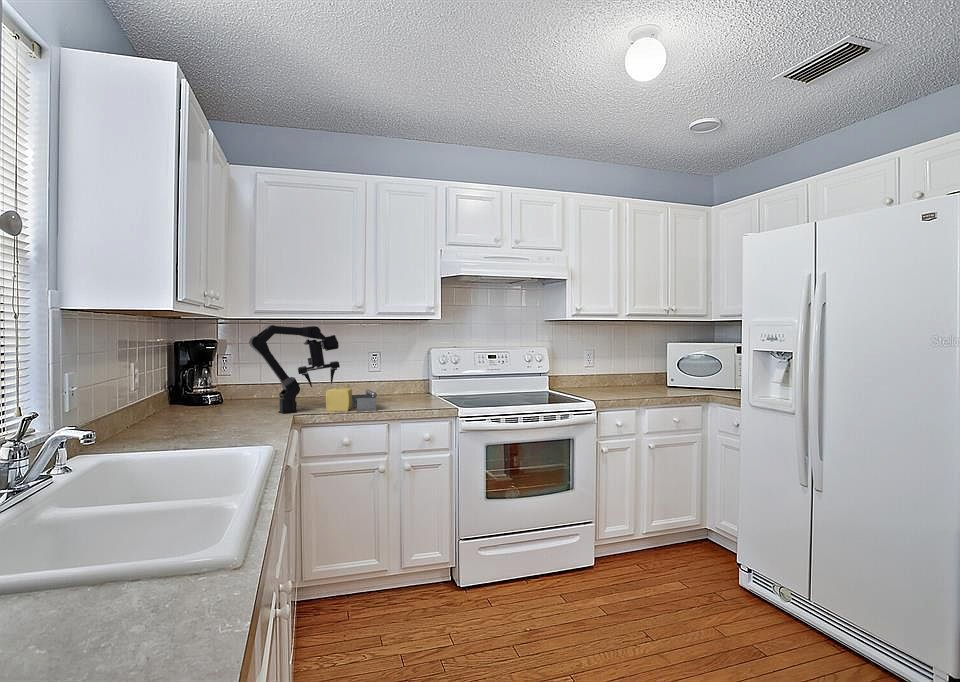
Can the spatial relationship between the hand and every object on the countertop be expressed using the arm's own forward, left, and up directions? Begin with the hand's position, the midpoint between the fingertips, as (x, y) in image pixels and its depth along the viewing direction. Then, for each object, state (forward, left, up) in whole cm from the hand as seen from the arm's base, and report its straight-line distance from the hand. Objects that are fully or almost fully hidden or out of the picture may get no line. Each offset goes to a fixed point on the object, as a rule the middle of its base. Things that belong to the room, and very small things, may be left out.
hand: (321, 385), depth 277 cm
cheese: (+7, -5, -12) cm, 15 cm away
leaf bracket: (+17, -9, -12) cm, 23 cm away
